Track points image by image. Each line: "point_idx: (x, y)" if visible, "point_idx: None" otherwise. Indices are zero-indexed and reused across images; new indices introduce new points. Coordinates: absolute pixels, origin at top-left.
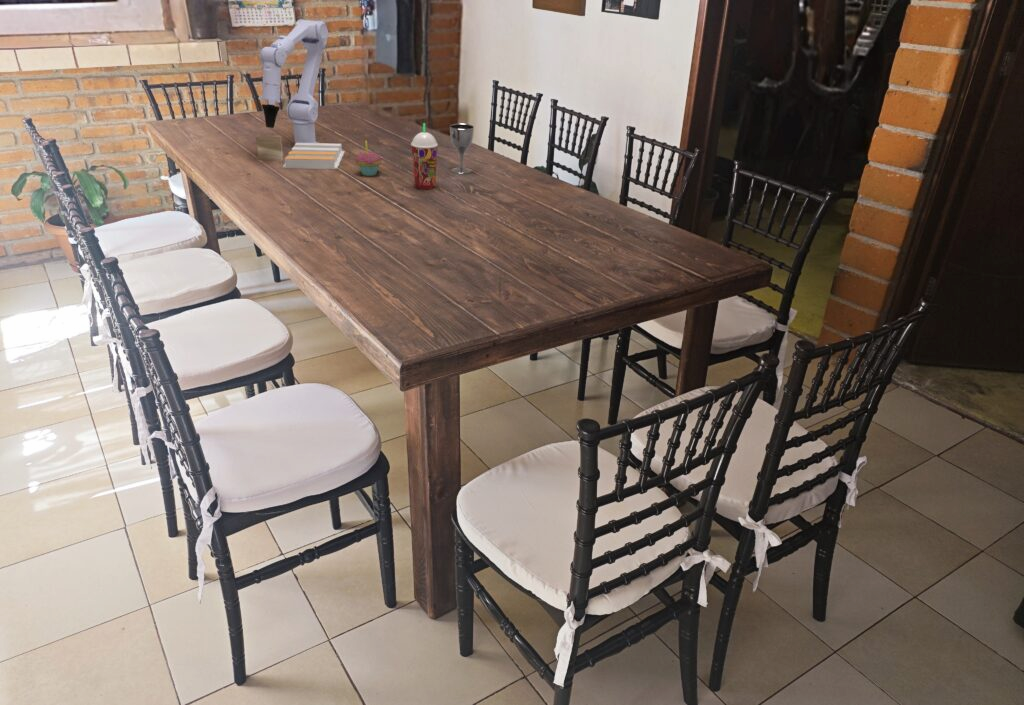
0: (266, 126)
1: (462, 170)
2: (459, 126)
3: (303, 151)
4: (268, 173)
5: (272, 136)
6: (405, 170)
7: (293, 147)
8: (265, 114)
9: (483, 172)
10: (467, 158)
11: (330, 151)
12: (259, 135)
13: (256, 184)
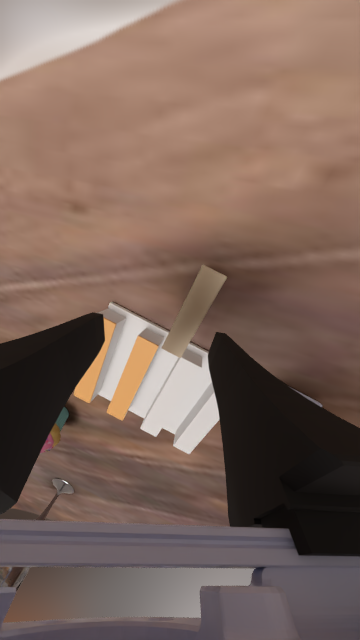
0: (216, 333)
1: (55, 486)
2: (17, 588)
3: (169, 375)
4: (79, 259)
5: (177, 328)
6: (69, 449)
7: (197, 367)
8: (3, 343)
9: (54, 494)
10: (108, 514)
11: (146, 416)
12: (214, 284)
13: (3, 210)
